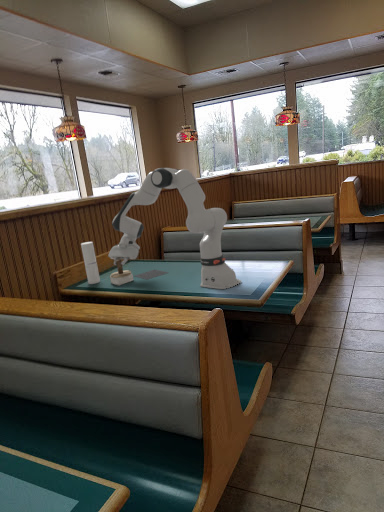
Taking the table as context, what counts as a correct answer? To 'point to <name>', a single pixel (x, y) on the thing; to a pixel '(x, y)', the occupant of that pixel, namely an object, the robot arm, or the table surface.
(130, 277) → the white hollow square box
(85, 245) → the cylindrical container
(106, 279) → the table surface
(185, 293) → the table surface
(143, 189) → the robot arm
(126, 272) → the lid
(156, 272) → the mat
